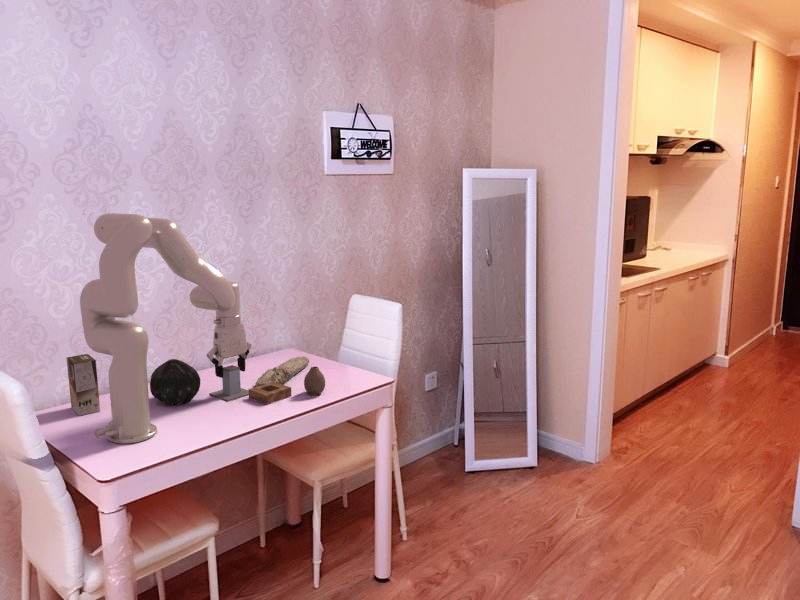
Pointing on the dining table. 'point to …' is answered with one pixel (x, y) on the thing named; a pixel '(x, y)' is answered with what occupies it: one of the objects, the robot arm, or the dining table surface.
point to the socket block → (269, 392)
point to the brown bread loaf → (283, 371)
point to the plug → (231, 380)
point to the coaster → (227, 397)
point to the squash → (174, 382)
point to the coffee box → (83, 384)
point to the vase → (314, 381)
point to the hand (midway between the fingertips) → (230, 373)
